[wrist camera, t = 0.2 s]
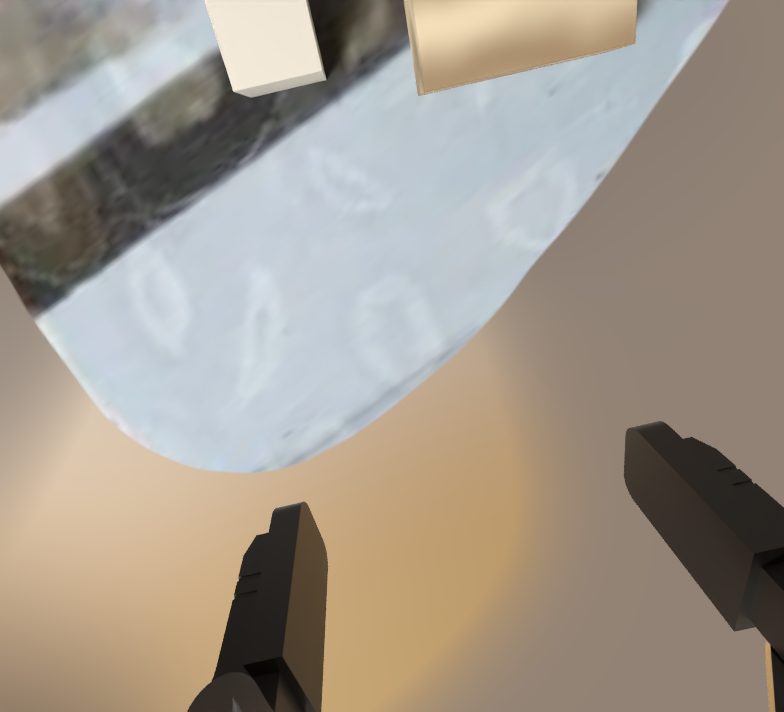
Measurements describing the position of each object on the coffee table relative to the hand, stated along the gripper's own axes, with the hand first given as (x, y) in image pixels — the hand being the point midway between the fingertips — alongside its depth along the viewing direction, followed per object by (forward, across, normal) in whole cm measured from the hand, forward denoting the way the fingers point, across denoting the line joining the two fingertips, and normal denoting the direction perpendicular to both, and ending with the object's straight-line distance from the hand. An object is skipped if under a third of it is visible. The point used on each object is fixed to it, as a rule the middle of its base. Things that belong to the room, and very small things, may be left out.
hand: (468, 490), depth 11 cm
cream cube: (+29, +4, -14) cm, 33 cm away
